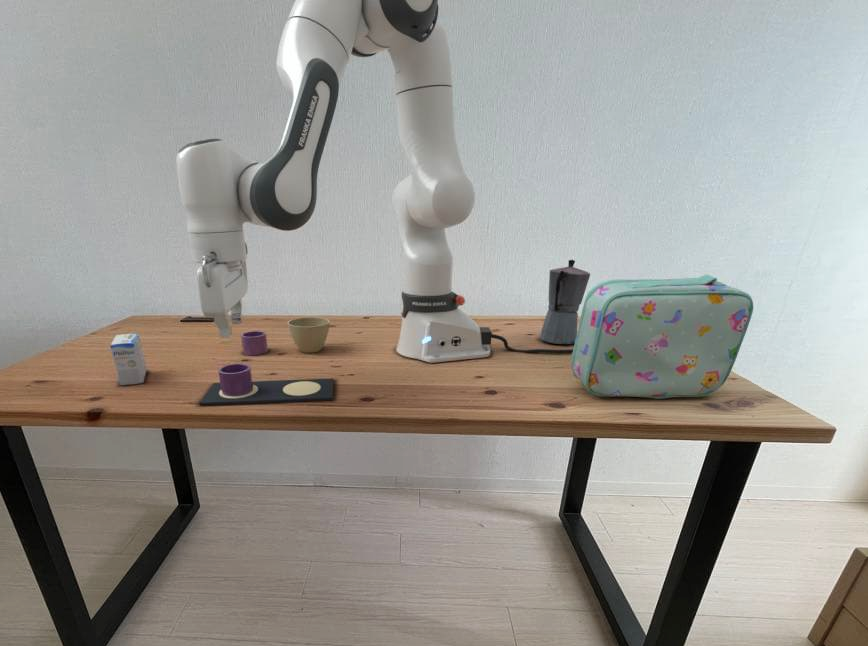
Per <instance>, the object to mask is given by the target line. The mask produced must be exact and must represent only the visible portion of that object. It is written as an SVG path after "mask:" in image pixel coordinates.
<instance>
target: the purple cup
mask: <svg viewBox="0 0 868 646" xmlns="http://www.w3.org/2000/svg"><path fill="white" fill-rule="evenodd" d="M240 339H241V347H242V352H243V354H244V355H245V356H262V355H264V354H266V353H268V351H269V350H268V349H269V348H268V347H269V346H268V339H267V333H266V332H265V331H262V330H250V331H246V332H243V333H241V334H240Z"/></svg>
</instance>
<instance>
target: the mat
mask: <svg viewBox="0 0 868 646" xmlns="http://www.w3.org/2000/svg"><path fill="white" fill-rule="evenodd" d="M334 379H335V378H331V377H329V378H308V379H307V378H305V379H281V380H278V379H277V380H255V381H254V380H253V391H252V392H250V393H248V394H246V395H242V396H226V395H223V394H222V390H221V385H220V382H213V383H212V384H211V386H210V388H208V390H207V391H206V393H205V395H204V396H203V397H202V399H201V400H200V401H199V406H201V407H203V406H205V407H207V406H226V405H227V406H229V405H253V404H277V403H297V402H298V403H300V402H322V401H323V402H324V401H325V402H326V401H333V400H334V384H335V383H334V381H335V380H334Z"/></svg>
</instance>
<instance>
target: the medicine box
mask: <svg viewBox="0 0 868 646" xmlns="http://www.w3.org/2000/svg"><path fill="white" fill-rule="evenodd" d="M109 347H110V351H111V355H112V359H113V363H114V366H115V371H116V375H117V378H118V382H119V385H120V386H129V385H139V384H143V383H144V382H145V377H146V373H147V365H146V360H145V356H144V352H143V347H142V343H141V338H140V335H139V333H123V334H116V335H115V336H114V338H113V340H112V342H111V343H110V346H109Z"/></svg>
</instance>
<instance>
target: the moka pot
mask: <svg viewBox="0 0 868 646" xmlns="http://www.w3.org/2000/svg"><path fill="white" fill-rule="evenodd" d="M575 263H576V260H575V259H568V266H565V267H559V268H558V267H557V268H553V269H550V270H549V276H548V277H549V278H548V281H549V282H548V307H547V309H548V310H547V312H546V315H545V318H544V321H543V325H542V328H541V331H540V334H539V339H540V340H541V341H543V342H544V343H550V344H555V345H573V344H575V340H576V337H577V332H578V320H579V319H578V317H579V313H578V311H579V309H580V305H581V304H582V302H583V299H584V297H585V296H584V295H585V292H586V289H587V286H588V284H589V280H590V277H591V273H590V272H589V271H586V270H583V269H580V268H578V267H575Z"/></svg>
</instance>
